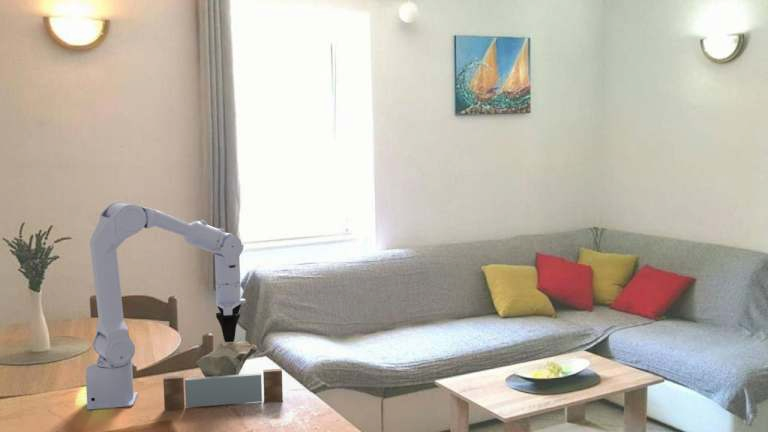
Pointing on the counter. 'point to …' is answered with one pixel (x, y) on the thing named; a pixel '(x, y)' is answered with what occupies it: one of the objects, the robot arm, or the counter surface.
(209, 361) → the stone
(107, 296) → the robot arm
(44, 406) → the counter surface
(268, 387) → the door frame
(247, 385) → the door
